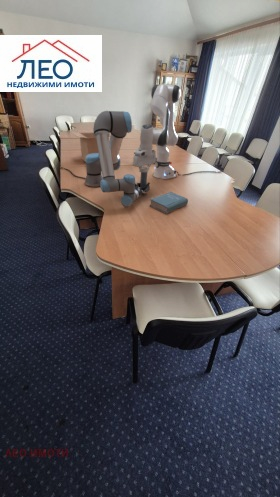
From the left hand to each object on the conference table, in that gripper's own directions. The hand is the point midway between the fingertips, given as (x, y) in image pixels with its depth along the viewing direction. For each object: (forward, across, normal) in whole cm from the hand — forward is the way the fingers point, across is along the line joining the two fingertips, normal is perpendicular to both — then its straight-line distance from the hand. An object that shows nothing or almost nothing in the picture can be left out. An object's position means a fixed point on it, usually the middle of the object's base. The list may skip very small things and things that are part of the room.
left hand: (145, 183), depth 174 cm
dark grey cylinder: (-5, 0, -7) cm, 9 cm away
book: (-16, +24, -7) cm, 30 cm away
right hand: (-5, 0, +11) cm, 12 cm away
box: (+51, -78, -7) cm, 94 cm away
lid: (-5, 0, +13) cm, 14 cm away
